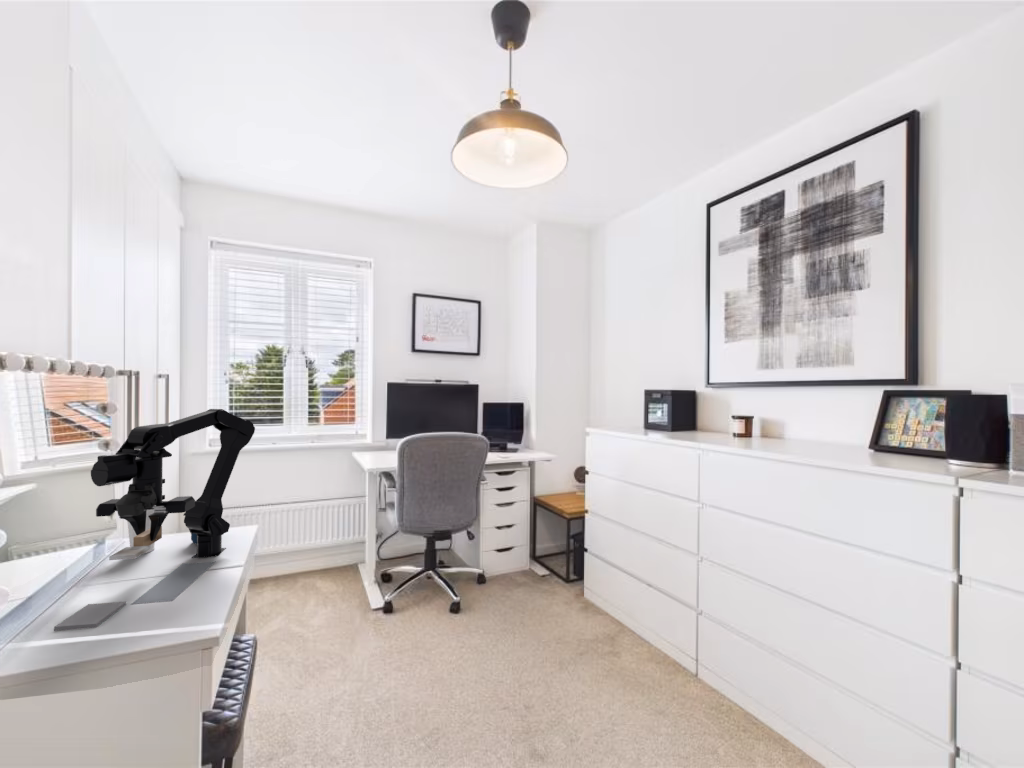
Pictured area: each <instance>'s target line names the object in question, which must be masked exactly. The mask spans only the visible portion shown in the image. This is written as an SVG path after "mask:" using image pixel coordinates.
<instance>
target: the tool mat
mask: <svg viewBox="0 0 1024 768" xmlns="http://www.w3.org/2000/svg"><path fill="white" fill-rule="evenodd" d="M215 563H217V561H204V562H201V561H199V562H190V563H189V562H186V563H184V562H183V563H182V564H180V565H179V566H177V567H176V568H175V569H174V570H173V571H171V572H169V574H167V575H166V576H164V578H162V579H161V580H160V581H159V582H157V583H156V584H154V585H153V586H152V587H151V588H149V589H148V590H147V591H146V592H144V593H143V594H142V595H141V596H139V597H138V598H137V599H136V600H134V601H133V602H132V603H131V605H140V604H152V603H164V602H165V603H166V602H173V601H175V600H176V599H177V598H178V597H179V596H180V595H181V594H183V592H184V591H186V589H188V587H190V586H191V585H192V584H193V583H194V582H195V581H197V579H199V578H200V577H201V576H202V575H203V574H204V573H205V572H206V571H207V570H209V569H210V568H212V566H213V565H215Z"/></svg>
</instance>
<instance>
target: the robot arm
mask: <svg viewBox="0 0 1024 768" xmlns="http://www.w3.org/2000/svg"><path fill="white" fill-rule="evenodd" d="M212 426H213V428H214V429H216V430H218V431H220V433H219V441H220V442H219V443H220V449H219V452H218V453H217V457H216V459H215V462H214V464H213V466H212V468H211V471H210V474H209V477H208V479H207V481H206V483H205V485H204V488H203V490H202V494H201V495H200V496H199V497H198V499H195V498H194V497H193V496H192V495H191V496H190V495H187V496H176V497H174V498H172V499H170V500H165V499H166V494H163V484H165V483H166V479H165V478H163V459H164V458H171V457H172V453H170V452H169V451H168V450H166V449H165V447H167V446H169V445H171V444H173V442H175V441H176V440H177V439H179V438H181V437H183V436H186V435H189V434H193V433H195V432H197V431H200V430H203V429H206V428H209V427H212ZM255 430H256V427H255V425H254V423H253V422H252V421H251V420H249V419H244V418H242V417H239V416H237V415H234V414H232V413H230V412H228V411H227V410H225V409H222V408H209V409H207V410H206V411H203V412H202V411H201V412H200V413H197V414H193V415H190V416H186V417H184V418H180V419H177V420H174V421H171V422H166V423H155V424H149V425H148V424H146V425H141V426H136V427H134V428H132V429H131V430H130V432H129V434H128V436H127V439H126V440H125V441H124V442H123V444H122V445H121V446H120V448H119V449H118V450H117V451H116V453H115V454H110V455H106V454H105V455H98V456H97V461H95V462H94V464H93V465H92V468H91V470H90V479H91V481H92V482H93V484H94V485H95V486H97V487H104V486H105V487H106V486H109V485H110V486H111V485H115V484H120V483H125V482H130V481H132V483H130V484H128V485H129V486H128V490H127V493H126V494H124V495H123V496H122V497H120V498H112V499H109V500H106V501H104V502H101V503H99V504H98V505H97V507H96V508H95V516H96V517H110V516H113V515H114V514H115V513H116V512H117V515H118V517H119V519H120V520H121V519H122V520H125V521H128V522H130V524H131V525H132V527H133V529H134V531H135V533H136V535H139V534H141V533H142V532H144V531H145V529H146V512H147V510H151V509H154V513H153V514H151V515H149V516H148V517H149V518H150V520H151V528H150V540H151V541H153V540H155V538H156V536H157V534H158V532H159V530H160V527H161V526H162V525H163V523H164V521H165V520H166V519H167V517H168V515H169V514H180V513H181V514H182V513H183V516H184V517H183V523H184V525H185V527H186V528H188V530H189V534H190V535H191V534H197V544H196V553H194V555H193V556H191V559H197V558H198V559H201V558H202V559H203V558H215V557H218V556H219V555H221V554H222V553H223V552H224V551H225V550H226V549H227V547H222V539H223V538H222V537H223V535H224V534H226V533H229V530H230V526H231V524H230V523H229V522H228V521H227V520H225V519H224V518H223V517H222V516H223V512H224V507H223V501H222V499H223V496H224V493H225V491H226V488H227V486H228V484H229V481H230V477H231V475H232V472H233V471H234V470H233V469H234V467H235V465H236V462H237V460H238V457H239V455H240V452H241V450H242V449H243V448H245V447H246V446H247V445H248V444H249V443H250V441H251V439H252V438H253V436H254V435H255V432H256V431H255ZM154 505H156V506H154Z"/></svg>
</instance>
